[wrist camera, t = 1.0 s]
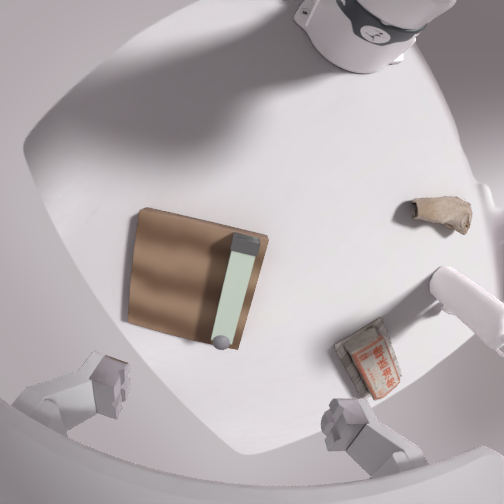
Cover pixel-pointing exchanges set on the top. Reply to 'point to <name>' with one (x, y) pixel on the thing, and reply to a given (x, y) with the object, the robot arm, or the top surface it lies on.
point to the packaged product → (370, 360)
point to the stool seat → (184, 274)
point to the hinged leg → (234, 288)
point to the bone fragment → (445, 212)
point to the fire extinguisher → (470, 305)
